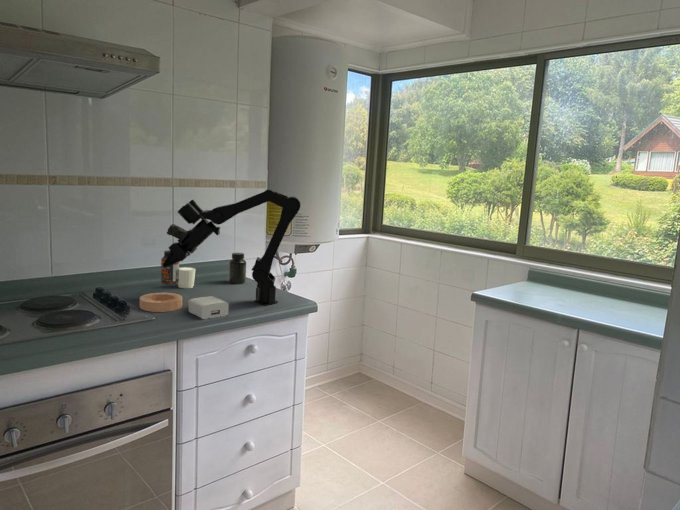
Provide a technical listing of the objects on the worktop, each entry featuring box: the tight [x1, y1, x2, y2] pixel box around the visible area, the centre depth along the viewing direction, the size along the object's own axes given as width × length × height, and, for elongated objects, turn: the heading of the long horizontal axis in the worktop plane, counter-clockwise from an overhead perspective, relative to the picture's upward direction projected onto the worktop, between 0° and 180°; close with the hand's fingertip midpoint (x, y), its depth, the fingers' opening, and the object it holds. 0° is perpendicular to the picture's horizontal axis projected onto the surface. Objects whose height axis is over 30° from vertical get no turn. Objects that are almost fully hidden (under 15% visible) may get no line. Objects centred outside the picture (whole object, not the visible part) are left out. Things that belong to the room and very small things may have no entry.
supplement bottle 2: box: [228, 252, 247, 285], centre depth 210 cm, size 7×7×12 cm
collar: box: [139, 292, 183, 313], centre depth 170 cm, size 13×13×3 cm
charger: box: [187, 295, 230, 320], centre depth 167 cm, size 5×9×15 cm
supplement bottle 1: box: [160, 249, 180, 286], centre depth 179 cm, size 6×6×11 cm
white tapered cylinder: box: [177, 266, 196, 289], centre depth 198 cm, size 7×7×7 cm
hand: (165, 264), depth 179 cm, fingers closed on supplement bottle 1, 6 cm apart
